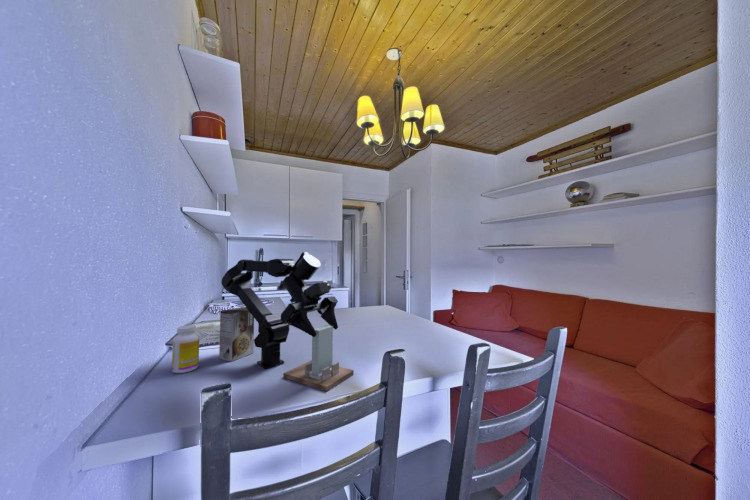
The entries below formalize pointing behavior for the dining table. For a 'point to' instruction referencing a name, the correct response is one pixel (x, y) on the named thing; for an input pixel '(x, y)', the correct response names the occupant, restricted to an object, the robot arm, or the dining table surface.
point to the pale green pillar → (321, 351)
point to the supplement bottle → (185, 350)
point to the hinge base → (328, 379)
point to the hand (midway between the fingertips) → (326, 332)
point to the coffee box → (236, 334)
